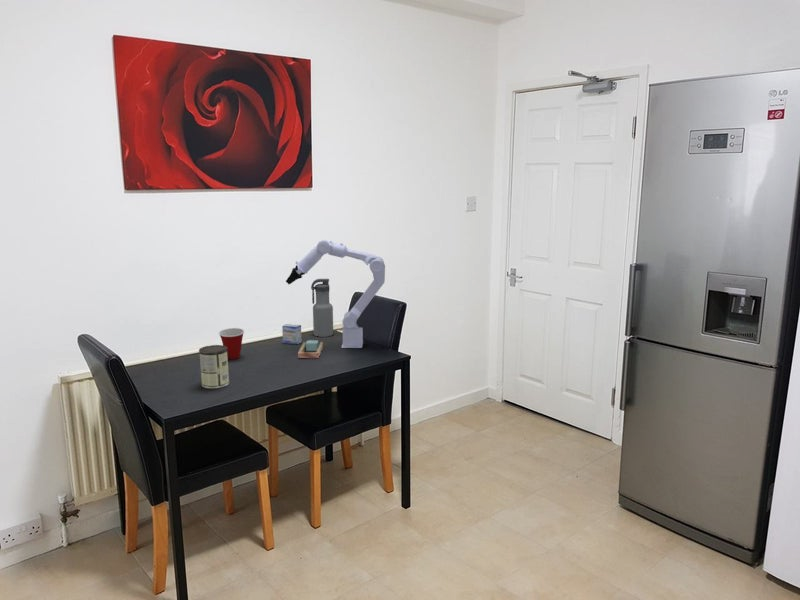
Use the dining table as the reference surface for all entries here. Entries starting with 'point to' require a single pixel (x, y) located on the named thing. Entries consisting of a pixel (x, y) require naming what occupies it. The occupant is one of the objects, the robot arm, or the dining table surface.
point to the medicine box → (291, 334)
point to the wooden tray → (310, 354)
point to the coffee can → (214, 366)
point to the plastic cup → (232, 341)
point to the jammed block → (311, 345)
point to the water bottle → (322, 309)
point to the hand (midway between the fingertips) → (288, 281)
